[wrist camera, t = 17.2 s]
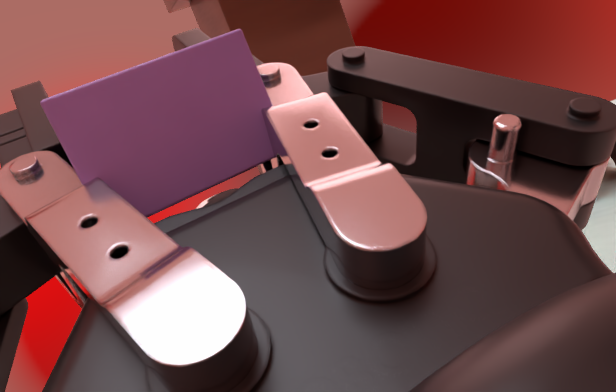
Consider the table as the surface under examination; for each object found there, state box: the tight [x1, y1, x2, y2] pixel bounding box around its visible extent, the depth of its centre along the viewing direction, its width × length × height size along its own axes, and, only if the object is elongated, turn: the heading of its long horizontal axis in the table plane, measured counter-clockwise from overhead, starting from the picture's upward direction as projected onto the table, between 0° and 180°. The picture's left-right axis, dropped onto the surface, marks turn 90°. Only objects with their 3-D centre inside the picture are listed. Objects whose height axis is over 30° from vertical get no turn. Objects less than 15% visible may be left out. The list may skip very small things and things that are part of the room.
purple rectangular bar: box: [40, 29, 274, 218], centre depth 18 cm, size 19×4×2 cm, turn 26°
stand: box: [164, 0, 355, 174], centre depth 43 cm, size 10×12×32 cm
